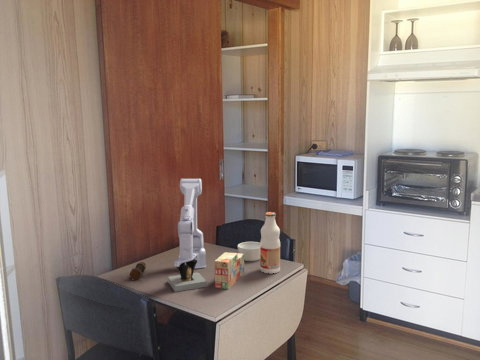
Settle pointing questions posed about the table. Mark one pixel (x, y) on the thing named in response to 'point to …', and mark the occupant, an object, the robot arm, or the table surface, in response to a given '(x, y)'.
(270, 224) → the fruit juice
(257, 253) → the ramekin
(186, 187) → the robot arm
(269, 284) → the table surface
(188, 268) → the peg
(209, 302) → the table surface
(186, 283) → the board
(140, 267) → the bolt
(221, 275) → the stack of blocks
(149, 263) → the table surface
